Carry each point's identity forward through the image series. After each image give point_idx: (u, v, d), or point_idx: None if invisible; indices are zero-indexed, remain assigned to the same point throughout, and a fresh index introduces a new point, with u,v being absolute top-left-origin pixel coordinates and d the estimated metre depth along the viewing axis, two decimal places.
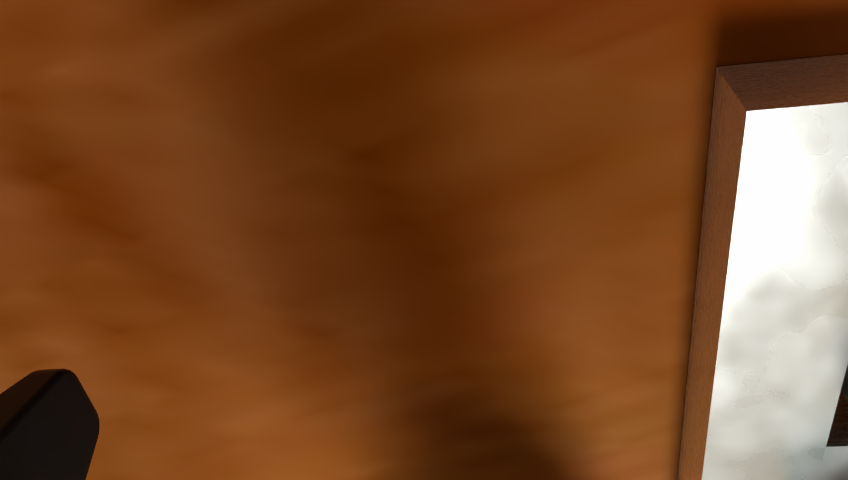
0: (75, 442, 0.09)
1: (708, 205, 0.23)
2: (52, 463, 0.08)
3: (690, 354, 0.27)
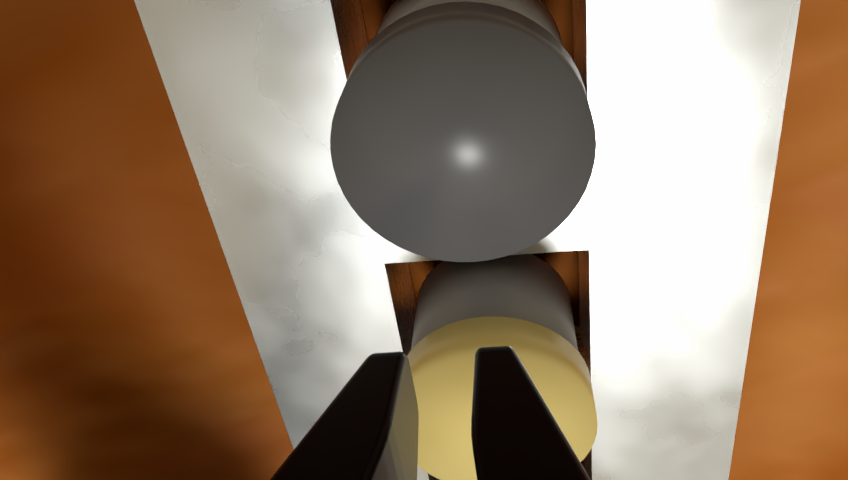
0: (412, 430, 0.08)
1: None
2: (407, 452, 0.08)
3: None
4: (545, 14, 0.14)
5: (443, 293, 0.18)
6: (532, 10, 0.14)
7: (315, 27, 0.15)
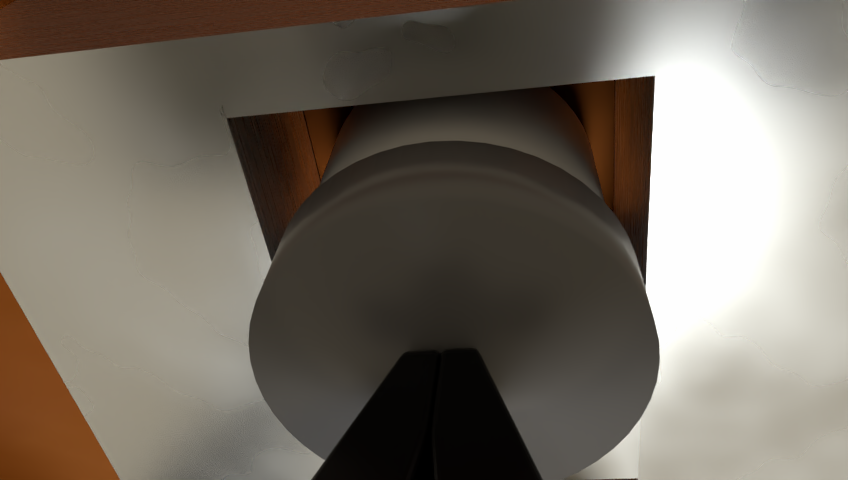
0: None
1: None
2: None
3: None
4: (573, 129, 0.10)
5: None
6: (555, 130, 0.09)
7: (217, 189, 0.09)
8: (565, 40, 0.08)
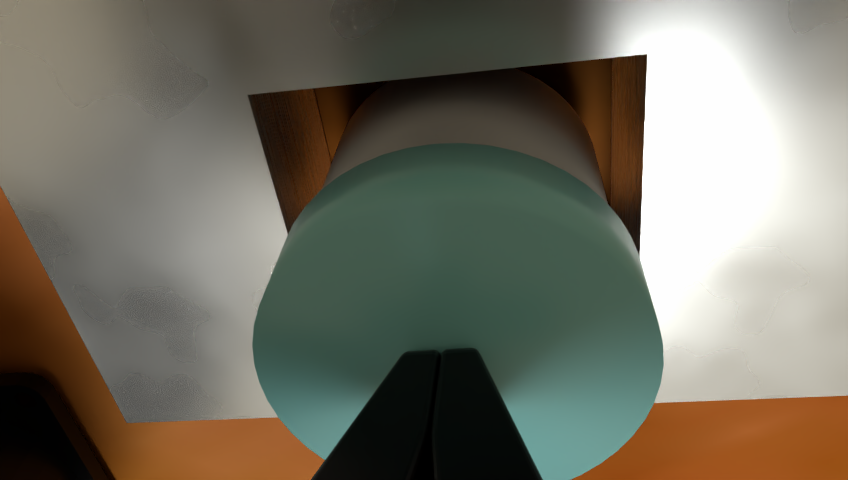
0: None
1: None
2: None
3: None
4: None
5: None
6: None
7: None
8: None
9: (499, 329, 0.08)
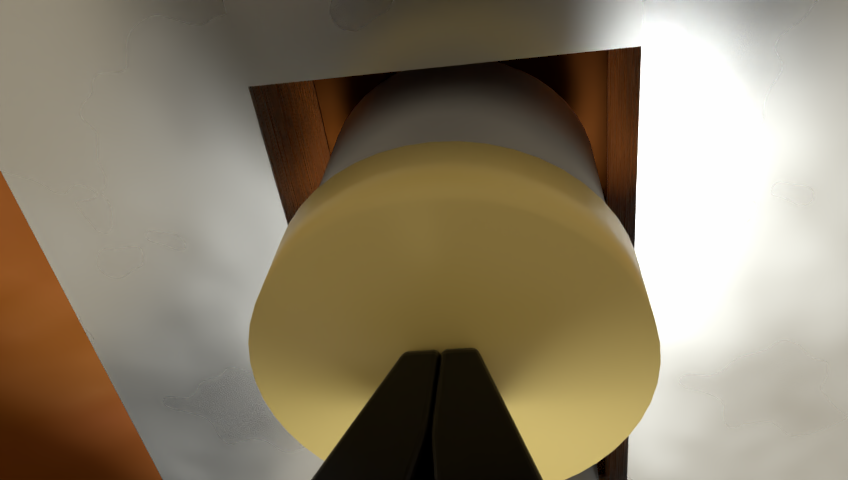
0: None
1: None
2: None
3: None
4: None
5: (362, 129, 0.10)
6: None
7: None
8: None
9: None
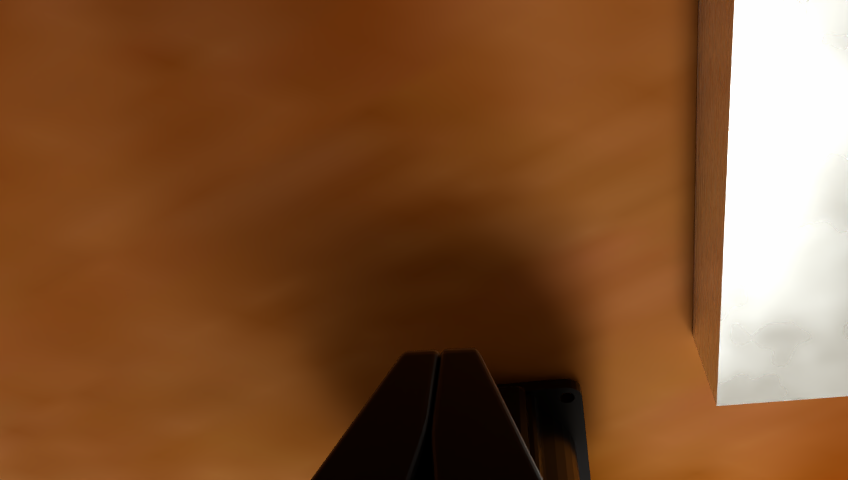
0: None
1: None
2: None
3: (699, 46, 0.18)
4: None
5: None
6: None
7: None
8: None
9: None
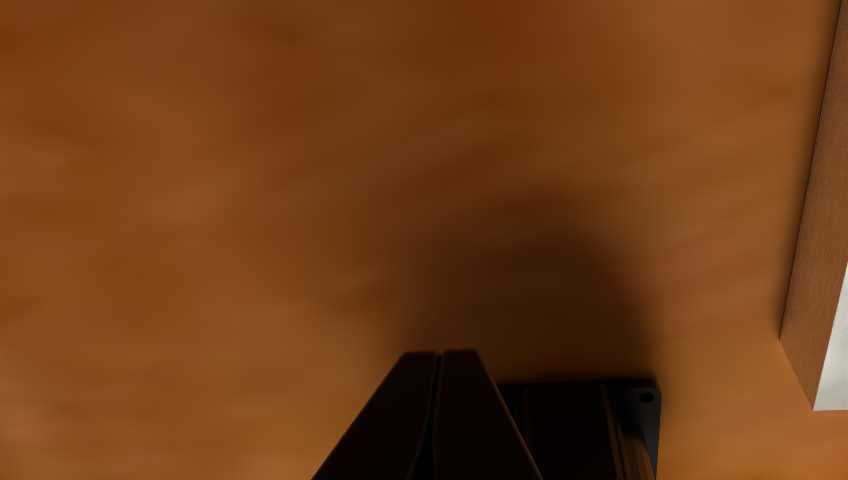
0: None
1: None
2: None
3: (835, 48, 0.18)
4: None
5: None
6: None
7: None
8: None
9: None
